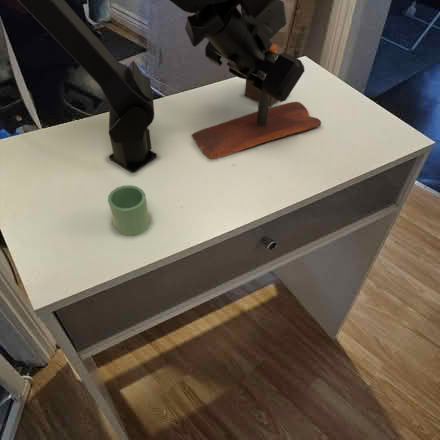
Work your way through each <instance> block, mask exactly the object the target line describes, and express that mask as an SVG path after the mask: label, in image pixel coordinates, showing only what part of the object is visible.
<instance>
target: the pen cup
mask: <svg viewBox="0 0 440 440" xmlns="http://www.w3.org/2000/svg"><path fill="white" fill-rule="evenodd" d="M146 195H147V194H146V193H145V191H144V190H143V189H142V188H141V187H139V186H136V185H130V184H129V185H121V186H117V187H116V188H114V189H112V190H111V191H110V192H109V194H108V196H107V203H108V206H109V210H110V214H111V218H112V222H113V225H114V228H115V230H116V231H117V232H118V233H119V234H121V235H124V236H127V237H133V236H138V235H140V234H142V233H145V231H146V230H147V229H148V228H149V226H150V213H149V208H148V203H147V196H146Z"/></svg>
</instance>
